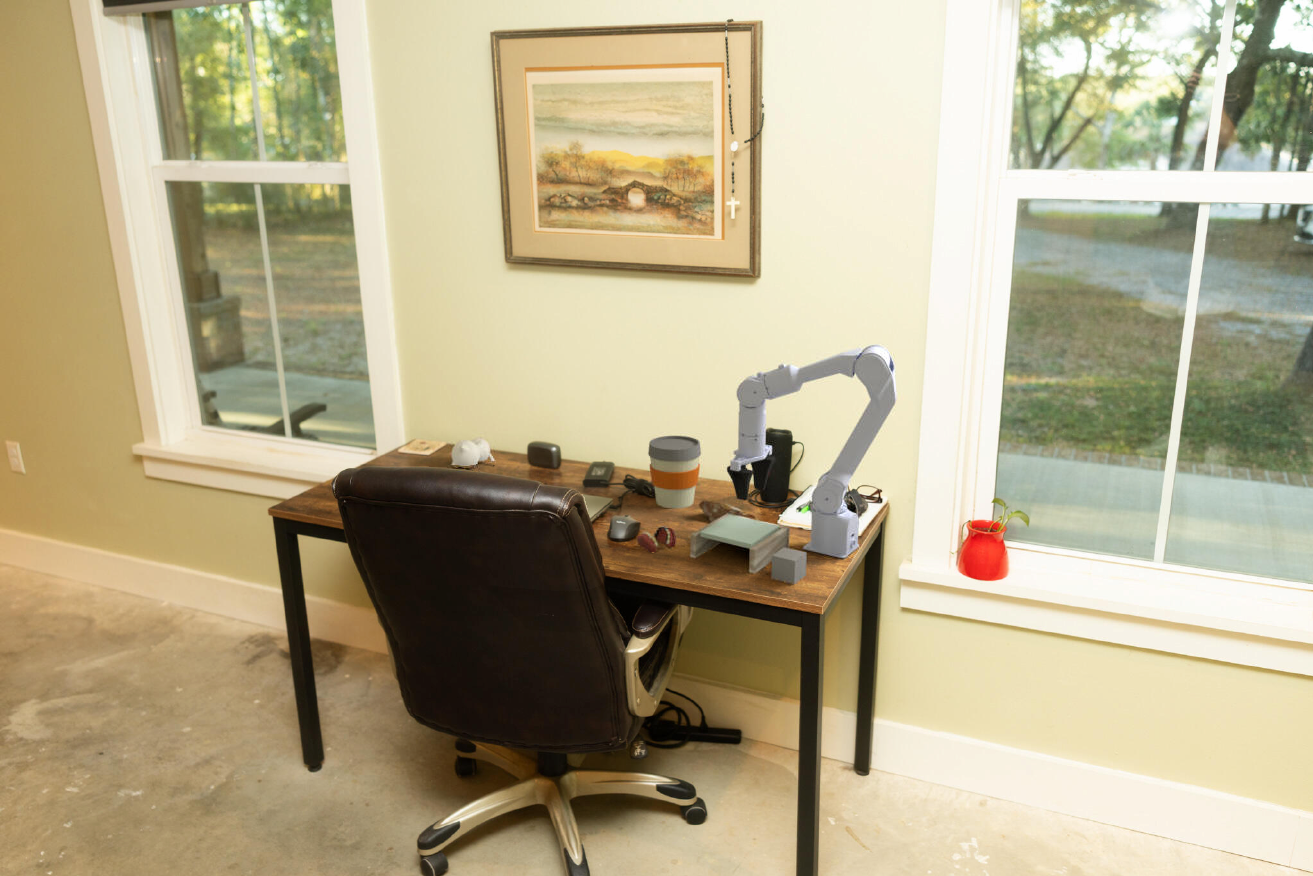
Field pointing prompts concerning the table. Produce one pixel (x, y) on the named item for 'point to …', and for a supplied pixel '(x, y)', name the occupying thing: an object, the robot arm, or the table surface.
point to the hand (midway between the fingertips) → (750, 494)
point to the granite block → (789, 565)
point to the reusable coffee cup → (674, 469)
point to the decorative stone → (721, 510)
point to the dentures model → (662, 535)
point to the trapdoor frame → (758, 553)
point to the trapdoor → (739, 531)
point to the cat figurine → (470, 452)
